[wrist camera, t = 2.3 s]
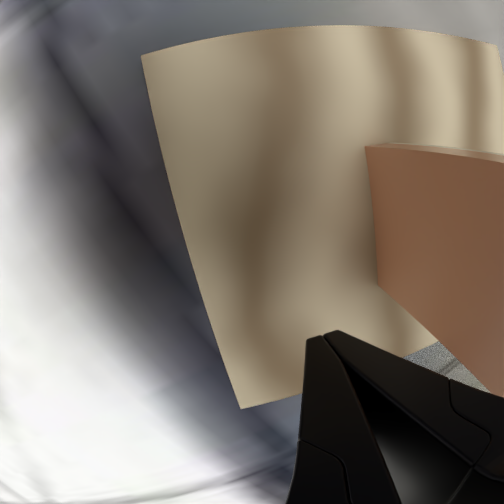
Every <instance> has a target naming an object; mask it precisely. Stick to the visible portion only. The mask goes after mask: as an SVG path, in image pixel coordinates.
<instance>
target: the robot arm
mask: <svg viewBox="0 0 504 504" xmlns="http://www.w3.org/2000/svg"><path fill="white" fill-rule="evenodd" d="M285 504H504V397H501V396H497V395H494V394H491V393H487V392H484V391H481V390H479V389H476V388H473V387H470V386H468V385H465V384H463V383H460V382H458V381H455V380H453V379H450V380H449V379H448V377H445V376H443V375H441V374H438V373H436V372H434V371H431V370H429V369H427V368H424V367H422V366H420V365H417V364H415V363H413V362H410V361H408V360H406V359H403V358H401V357H399V356H396V355H394V354H392V353H390V352H387V351H385V350H383V349H381V348H378V347H376V346H374V345H372V344H369V343H367V342H365V341H363V340H360V339H358V338H356V337H354V336H352V335H349V334H347V333H345V332H343V331H341V330H334V331H331V332H328V333H325V334H324V335H323V336H322V335H318V336H315V337H311V338H308V339H307V340H306V346H305V362H304V376H303V389H302V402H301V413H300V424H299V434H298V442H297V451H296V459H295V465H294V471H293V477H292V480H291V484H290V488H289V492H288V495H287V499H286V502H285Z"/></svg>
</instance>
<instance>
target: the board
mask: <svg viewBox="0 0 504 504" xmlns="http://www.w3.org/2000/svg"><path fill="white" fill-rule="evenodd" d="M141 59H142V65H143V70H144V75H145V80H146V85H147V89H148V94H149V99H150V103H151V108H152V113H153V117H154V122H155V126H156V130H157V135H158V139H159V143H160V147H161V151H162V155H163V160H164V164H165V168H166V172H167V175H168V179H169V183H170V187H171V191H172V195H173V199H174V202H175V206H176V210H177V213H178V217H179V221H180V224H181V228H182V231H183V235H184V238H185V242H186V245H187V249H188V252H189V256H190V259H191V262H192V266H193V269H194V272H195V276H196V279H197V282H198V285H199V289H200V292H201V295H202V298H203V301H204V304H205V308H206V311H207V314H208V317H209V320H210V323H211V326H212V329H213V332H214V335H215V338H216V341H217V344H218V347H219V350H220V353H221V356H222V358H223V361H224V364H225V367H226V370H227V373H228V375H229V378H230V381H231V384H232V387H233V389H234V392H235V395H236V397H237V400H238V403H239V406H240V408H241V409H244V408H248V407H252V406H256V405H260V404H264V403H268V402H272V401H276V400H280V399H284V398H287V397H291V396H294V395H298V394H301V393H302V389H303V376H304V362H305V346H306V340H307V339H308V338H311V337H315V336H318V335H322V336H323V335H324V334H325V333H328V332H331V331H334V330H341V331H343V332H345V333H347V334H349V335H352V336H354V337H356V338H358V339H360V340H363V341H365V342H367V343H369V344H372V345H374V346H376V347H378V348H381V349H383V350H385V351H387V352H390V353H392V354H394V355H396V356H399V357H401V358H402V357H405V356H407V355H409V354H412V353H414V352H416V351H418V350H421V349H423V348H425V347H427V346H429V345H432V344H434V343H436V342H438V340H437V339H436V338H435V337H434V336H433V335H432V334H431V333H430V332H429V331H428V330H427V329H426V328H425V327H424V326H422V325H421V324H420V323H419V322H418V321H417V320H416V319H415V318H414V317H413V316H412V315H411V314H409V313H408V312H407V311H406V310H405V309H404V308H403V307H402V306H401V305H400V304H399V303H397V302H396V301H395V300H394V299H393V298H392V297H391V296H390V295H389V294H387V293H386V292H385V291H384V290H383V289H382V288H381V287H380V286H378V275H377V256H376V241H375V229H374V218H373V208H372V198H371V190H370V182H369V174H368V167H367V160H366V153H365V147H364V146H369V145H376V144H383V143H391V142H393V143H409V144H423V145H435V146H445V147H455V148H463V149H472V150H479V151H486V152H493V153H500V154H504V73H503V69H502V64H501V60H500V56H499V52H498V48H497V46H496V45H492V44H489V43H485V42H481V41H476V40H472V39H467V38H463V37H458V36H452V35H447V34H441V33H435V32H428V31H420V30H412V29H403V28H392V27H377V26H349V25H332V26H303V27H288V28H277V29H267V30H259V31H251V32H244V33H237V34H231V35H225V36H219V37H214V38H209V39H204V40H199V41H195V42H190V43H186V44H182V45H178V46H174V47H170V48H166V49H162V50H159V51H155V52H151V53H148V54H145V55H141Z"/></svg>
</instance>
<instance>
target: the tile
mask: <svg viewBox="0 0 504 504" xmlns="http://www.w3.org/2000/svg"><path fill="white" fill-rule="evenodd" d="M364 147H365V153H366V160H367V167H368V174H369V182H370V190H371V198H372V208H373V218H374V229H375V241H376V256H377V275H378V286H380V287H381V288H382V289H383V290H384V291H385V292H386V293H387V294H389V295H390V296H391V297H392V298H393V299H394V300H395V301H396V302H397V303H399V304H400V305H401V306H402V307H403V308H404V309H405V310H406V311H407V312H408V313H409V314H411V315H412V316H413V317H414V318H415V319H416V320H417V321H418V322H419V323H420V324H421V325H422V326H424V327H425V328H426V329H427V330H428V331H429V332H430V333H431V334H432V335H433V336H434V337H435V338H436V339H437V340H438V341H439V342H440V343H441V344H443V345H444V346H445V347H446V348H447V349H448V350H449V351H450V352H451V353H452V354H453V355H454V356H455V357H456V358H457V359H458V360H459V361H460V362H461V363H462V364H463V365H464V366H465V367H466V368H467V369H468V370H469V371H470V372H471V373H472V374H473V375H474V376H475V377H476V378H477V379H478V380H479V381H480V382H481V383H482V384H483V385H484V386H485V387H486V388H487V389H488V390H489V391H490V392H491V393H492V394H494V395H497V396H501V397H504V154H500V153H493V152H486V151H479V150H472V149H463V148H455V147H445V146H435V145H423V144H409V143H393V142H391V143H383V144H376V145H369V146H364Z"/></svg>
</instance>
